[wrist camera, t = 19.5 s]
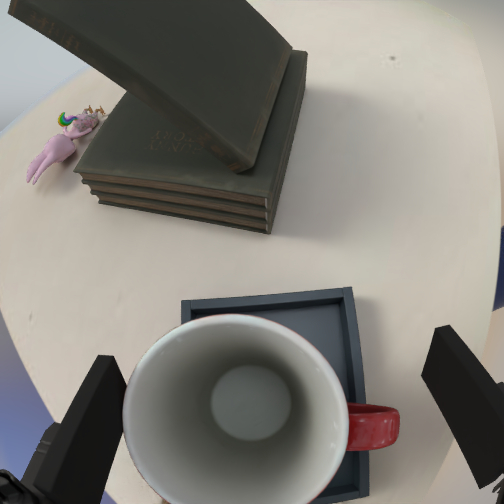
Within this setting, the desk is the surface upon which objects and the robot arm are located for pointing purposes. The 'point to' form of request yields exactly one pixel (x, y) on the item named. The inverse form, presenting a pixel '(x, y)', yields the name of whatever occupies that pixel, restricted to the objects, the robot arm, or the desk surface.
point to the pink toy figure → (63, 141)
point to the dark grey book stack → (184, 104)
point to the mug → (243, 415)
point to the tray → (330, 346)
